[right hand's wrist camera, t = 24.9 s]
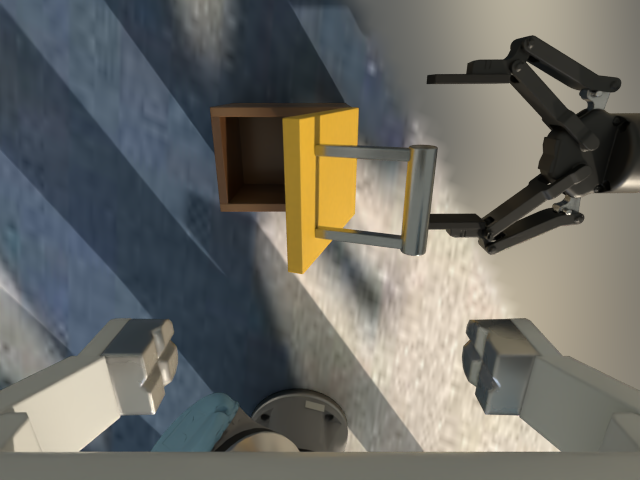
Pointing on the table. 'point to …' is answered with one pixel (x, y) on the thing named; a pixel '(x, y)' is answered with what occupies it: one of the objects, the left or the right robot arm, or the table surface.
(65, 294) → the table surface
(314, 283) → the table surface
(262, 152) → the chest
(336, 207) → the lid
